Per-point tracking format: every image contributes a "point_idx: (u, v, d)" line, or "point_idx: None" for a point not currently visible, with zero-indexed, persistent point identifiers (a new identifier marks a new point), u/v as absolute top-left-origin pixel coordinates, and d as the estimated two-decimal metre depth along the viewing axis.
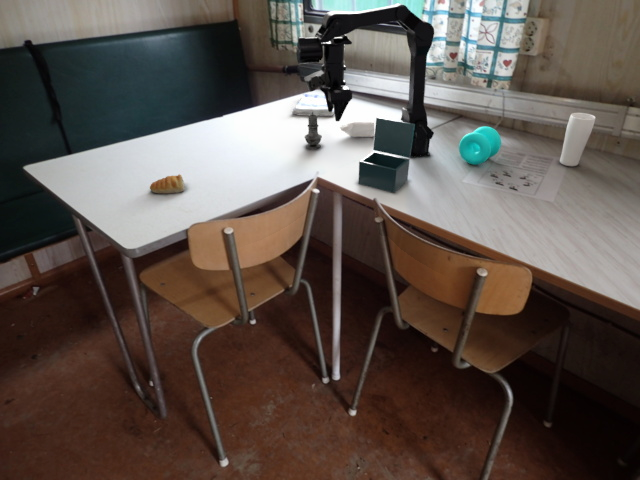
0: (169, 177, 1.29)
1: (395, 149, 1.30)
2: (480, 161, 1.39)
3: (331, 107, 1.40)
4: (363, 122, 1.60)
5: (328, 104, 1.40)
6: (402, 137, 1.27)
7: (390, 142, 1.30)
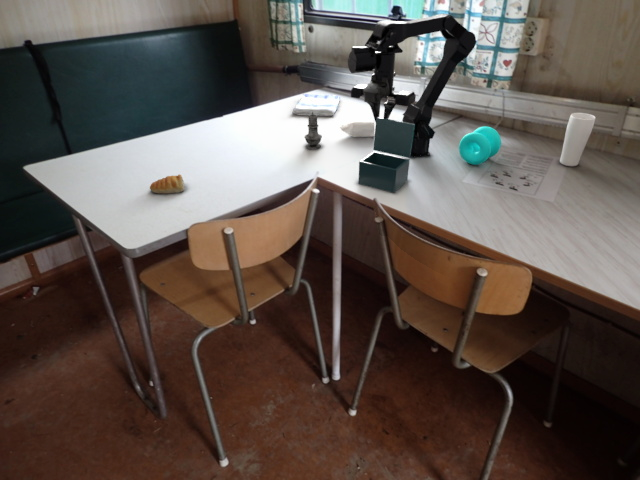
0: (169, 177, 1.29)
1: (395, 149, 1.30)
2: (480, 161, 1.39)
3: None
4: (363, 122, 1.60)
5: (376, 115, 1.39)
6: (402, 137, 1.27)
7: (390, 142, 1.30)
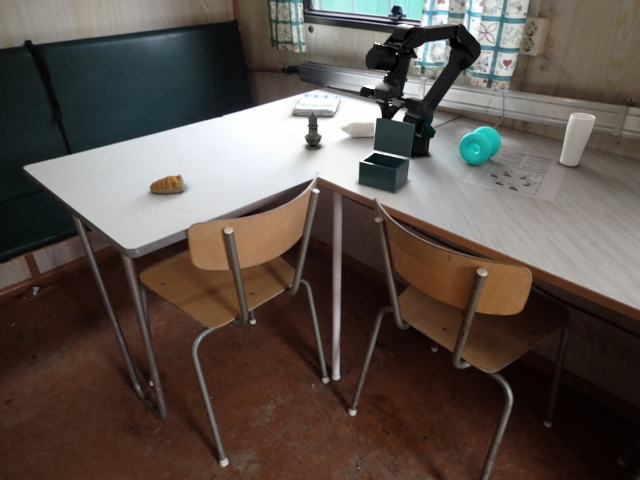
0: (169, 177, 1.29)
1: (395, 149, 1.30)
2: (480, 161, 1.39)
3: None
4: (363, 122, 1.60)
5: None
6: (402, 137, 1.27)
7: (390, 142, 1.30)
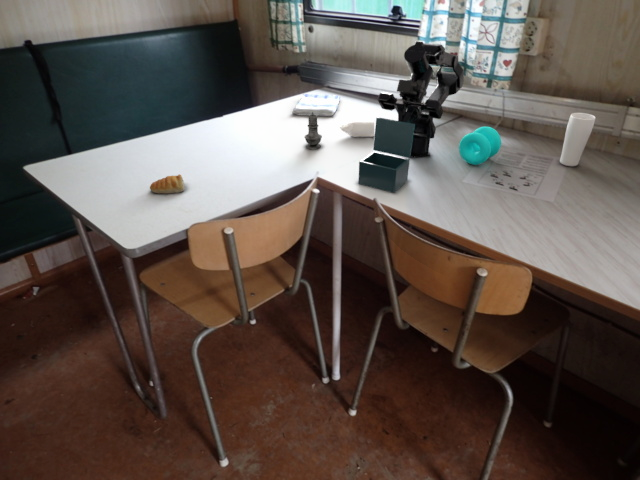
0: (169, 177, 1.29)
1: (395, 149, 1.30)
2: (480, 161, 1.39)
3: None
4: (363, 122, 1.60)
5: None
6: (402, 137, 1.27)
7: (390, 142, 1.30)
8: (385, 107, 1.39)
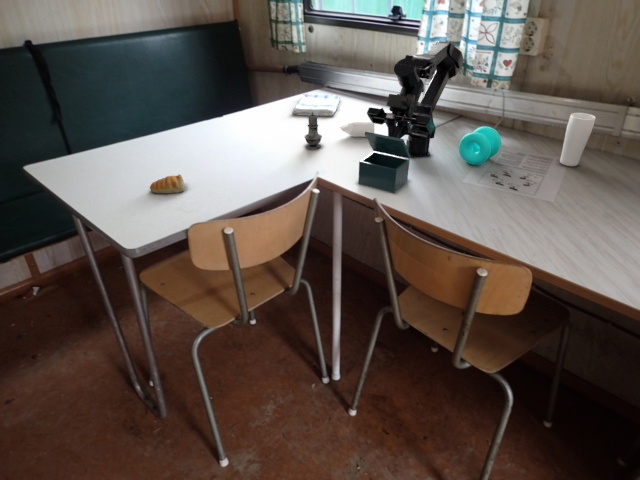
0: (169, 177, 1.29)
1: (393, 153, 1.30)
2: (480, 161, 1.39)
3: None
4: (363, 122, 1.60)
5: None
6: (396, 147, 1.26)
7: (386, 148, 1.29)
8: (375, 121, 1.36)
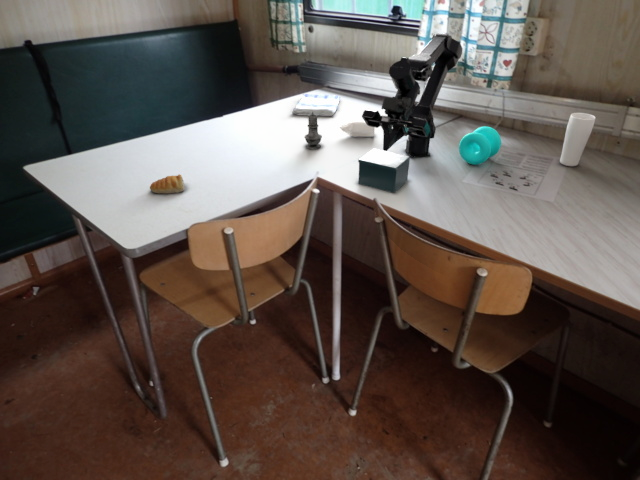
0: (169, 177, 1.29)
1: None
2: (480, 161, 1.39)
3: None
4: (363, 122, 1.60)
5: (386, 141, 1.27)
6: None
7: None
8: (370, 124, 1.34)
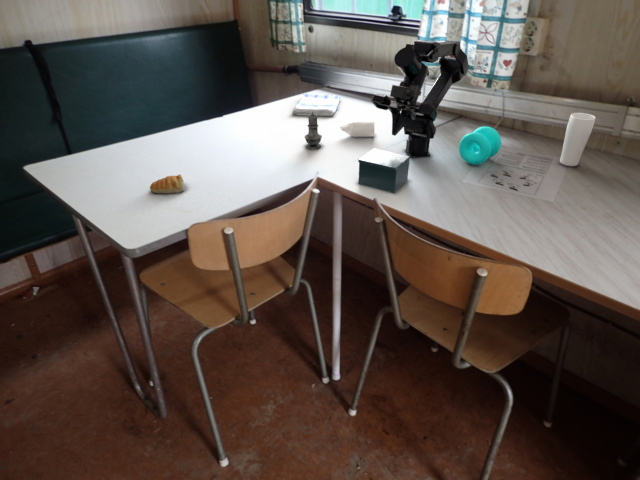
0: (169, 177, 1.29)
1: None
2: (480, 161, 1.39)
3: None
4: (363, 122, 1.60)
5: (395, 126, 1.32)
6: None
7: None
8: (380, 107, 1.38)
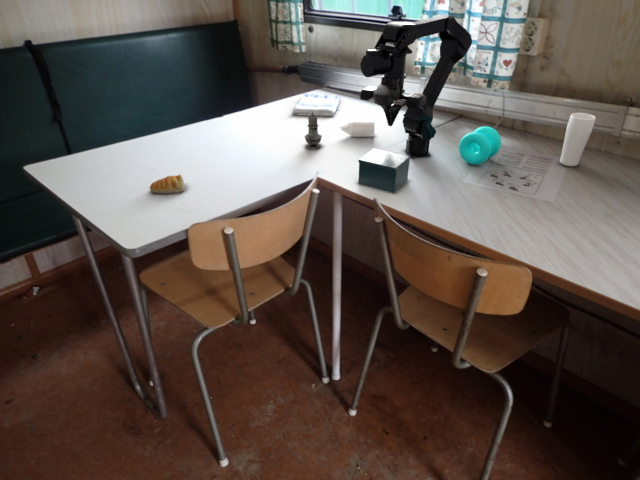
0: (169, 177, 1.29)
1: None
2: (480, 161, 1.39)
3: None
4: (363, 122, 1.60)
5: (389, 118, 1.36)
6: None
7: None
8: None
